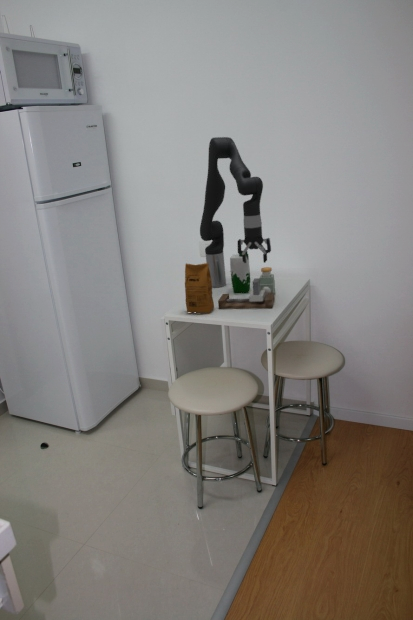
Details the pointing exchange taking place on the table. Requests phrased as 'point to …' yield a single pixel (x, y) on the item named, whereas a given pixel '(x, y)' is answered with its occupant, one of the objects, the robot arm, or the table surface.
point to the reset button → (266, 271)
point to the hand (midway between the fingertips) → (255, 262)
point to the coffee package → (198, 288)
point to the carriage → (256, 291)
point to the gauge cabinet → (267, 284)
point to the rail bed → (245, 302)
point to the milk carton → (240, 273)
